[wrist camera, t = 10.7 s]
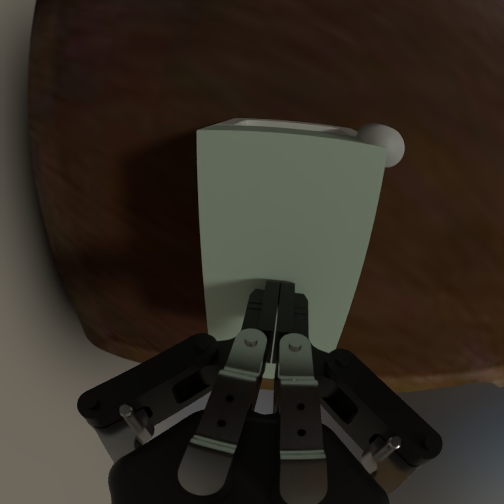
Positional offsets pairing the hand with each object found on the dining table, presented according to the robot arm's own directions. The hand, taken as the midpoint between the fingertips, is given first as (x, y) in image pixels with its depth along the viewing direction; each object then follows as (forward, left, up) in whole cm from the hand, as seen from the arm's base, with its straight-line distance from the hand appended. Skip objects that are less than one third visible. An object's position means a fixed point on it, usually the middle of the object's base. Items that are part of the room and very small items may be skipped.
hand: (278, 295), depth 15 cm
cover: (-1, 0, -3) cm, 3 cm away
